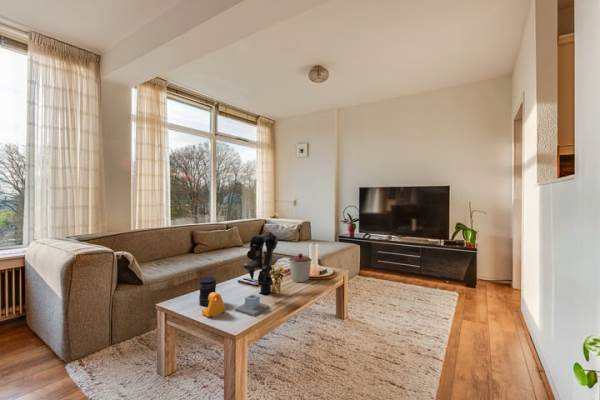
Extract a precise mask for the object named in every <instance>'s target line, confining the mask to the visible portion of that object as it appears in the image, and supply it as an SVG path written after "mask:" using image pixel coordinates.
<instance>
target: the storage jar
mask: <svg viewBox="0 0 600 400" xmlns="http://www.w3.org/2000/svg"><path fill="white" fill-rule="evenodd" d="M198 284H199V285H198V286H199V287H198V288H199V295H198V298H199V299H198V300H199V302H198V303H199V306H200V307H204V308H208V305H209V302H210V301H209V300H208V296H209V294H210V293H212V292H215V293H216V288H217V278H216V277H215V276H206V277H201V278H200V279H199V283H198Z"/></svg>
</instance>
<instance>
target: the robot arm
mask: <svg viewBox="0 0 600 400" xmlns="http://www.w3.org/2000/svg"><path fill="white" fill-rule="evenodd" d="M278 242H279V240H278V238H277V236H275V234H274V233H273V232H271V231H266V232H264V233H262V234H260V235H253V236H252V237H251V240H250V244H249V250H248V251H247V254H246V257H247V258H248V259H249V260H251V261H249V262H245V263H244V265H243V269H245V270H246V271H248V273H249V276H250V278H251V280H253V279H254V278H255V277H254V275H255V269H259V270H260V271H259V273H258V277H257V284H258V285H260V292H258V294H260V295H262V296H268V295H270V294H272V293H273V292H272V285H273V281H274V280H273V279H272V274H271V271H273V266H272V259H273V254H274V250H275V249H277V245H278ZM264 246H265V248H266V251H265V257H264V256H263V255H264V254H263V251H264ZM263 260H264V261H263Z"/></svg>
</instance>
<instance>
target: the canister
mask: <svg viewBox="0 0 600 400" xmlns="http://www.w3.org/2000/svg"><path fill="white" fill-rule="evenodd" d="M312 260H313V259H312V258H310V257H309V256H306V255H303V254H302V253H298V254H297V255H294V256H292V257H290V258H289V259H288V261H289V268H290V269H289V270H290V277H291V280H292V281H293V282H296V283H305V282H308V280H309V278H310V272H311V271H310V270H311V264H312V263H311V262H312Z"/></svg>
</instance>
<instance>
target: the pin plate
mask: <svg viewBox="0 0 600 400" xmlns="http://www.w3.org/2000/svg"><path fill="white" fill-rule="evenodd" d="M269 309H270V304H265V303H261V302H260V306H259V307H257V308H256V309H254V310H252V309H248V308H245V303H243V304H240V305H239V306H238V307H235V308H234V311H235V312H237V313H240V314H244V315H246V314H247V315H246V316H250V317H253V316H254V317H256V316H257V315H259V313H260V314H261V313H263V312H265V311H267V310H269Z"/></svg>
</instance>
